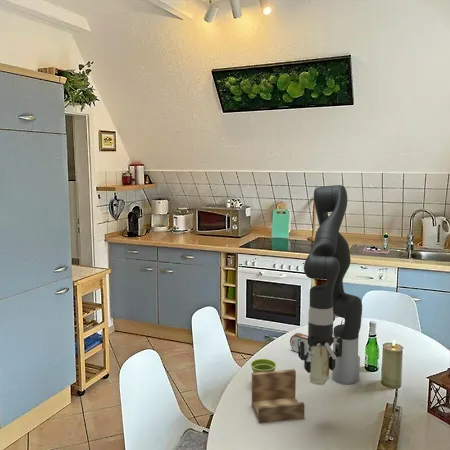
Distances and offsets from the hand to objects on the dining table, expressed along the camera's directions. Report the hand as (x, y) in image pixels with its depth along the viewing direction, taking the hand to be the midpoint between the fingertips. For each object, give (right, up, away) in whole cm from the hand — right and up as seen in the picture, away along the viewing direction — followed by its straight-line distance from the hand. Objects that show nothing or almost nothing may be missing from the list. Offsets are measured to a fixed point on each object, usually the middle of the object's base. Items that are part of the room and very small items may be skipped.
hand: (319, 370), depth 145 cm
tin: (+5, -10, +54) cm, 55 cm away
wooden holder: (-12, -17, +9) cm, 23 cm away
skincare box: (0, -4, 0) cm, 4 cm away
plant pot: (-15, -14, +26) cm, 34 cm away
